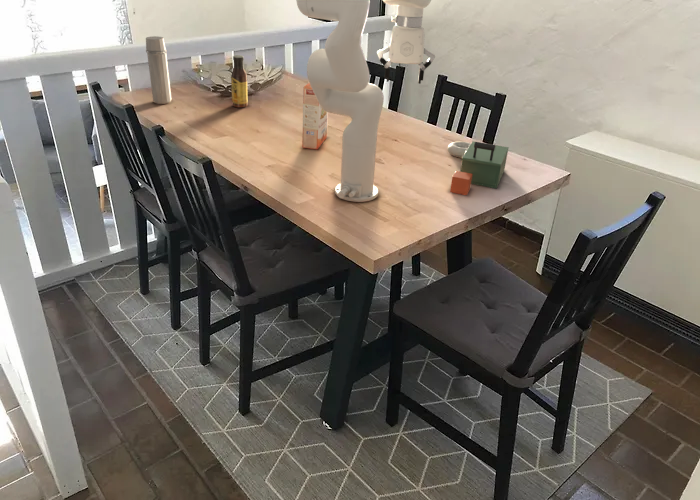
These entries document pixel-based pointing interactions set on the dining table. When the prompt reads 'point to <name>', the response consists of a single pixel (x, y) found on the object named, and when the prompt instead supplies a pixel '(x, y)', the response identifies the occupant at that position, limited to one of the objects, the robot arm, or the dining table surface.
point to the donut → (458, 148)
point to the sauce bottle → (239, 83)
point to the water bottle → (158, 69)
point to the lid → (485, 153)
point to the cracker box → (313, 120)
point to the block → (461, 183)
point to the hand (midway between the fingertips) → (403, 81)
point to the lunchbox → (484, 173)
